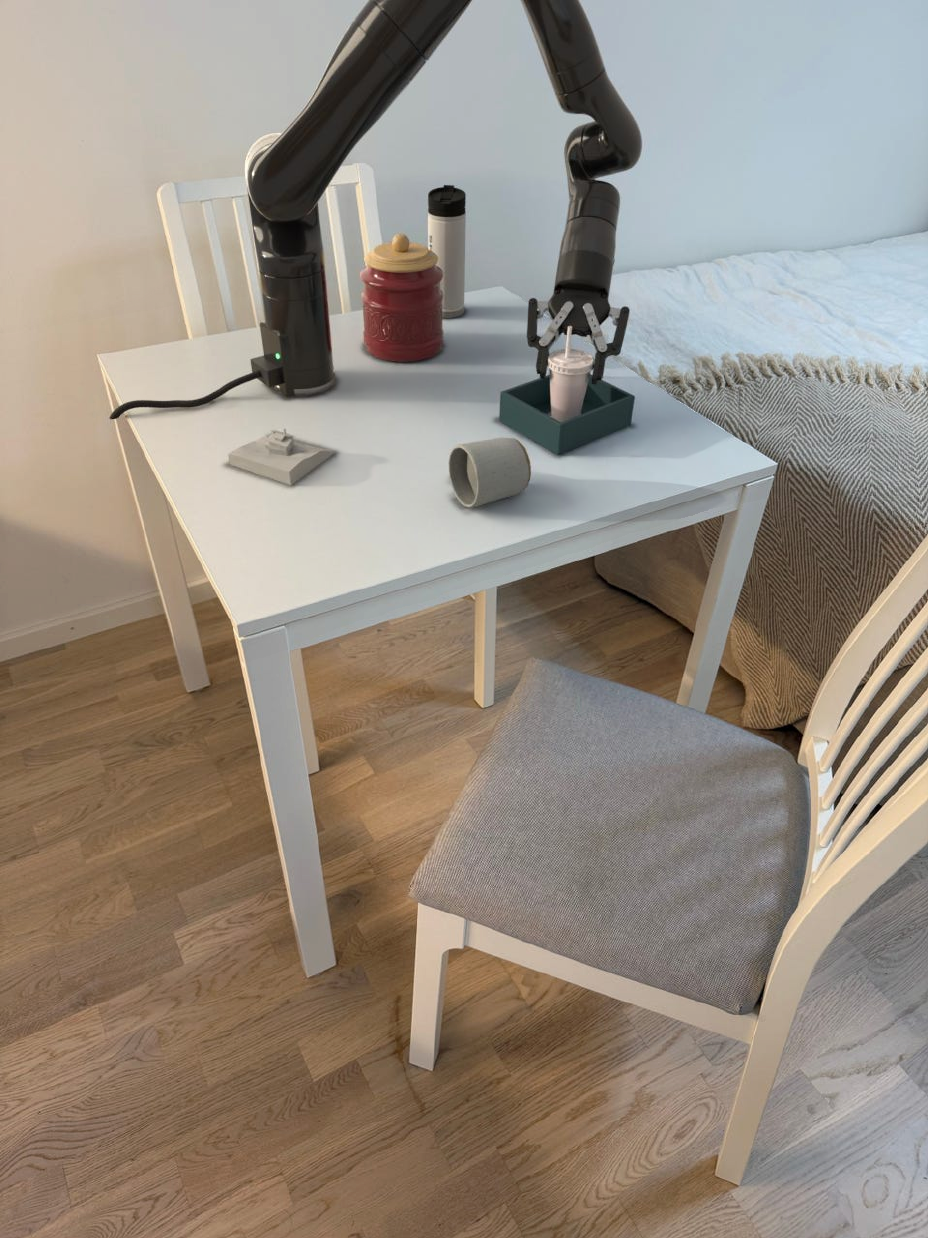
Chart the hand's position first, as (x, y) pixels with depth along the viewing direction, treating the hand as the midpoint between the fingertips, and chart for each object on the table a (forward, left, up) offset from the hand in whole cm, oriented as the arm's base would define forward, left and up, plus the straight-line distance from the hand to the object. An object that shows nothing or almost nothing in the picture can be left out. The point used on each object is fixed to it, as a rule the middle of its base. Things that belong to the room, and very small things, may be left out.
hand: (568, 379), depth 119 cm
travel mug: (+13, +44, -8) cm, 47 cm away
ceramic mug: (-20, -6, -8) cm, 22 cm away
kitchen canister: (-2, +36, -8) cm, 37 cm away
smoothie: (+1, +1, -8) cm, 8 cm away
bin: (+1, +1, -7) cm, 8 cm away
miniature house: (-36, +16, -8) cm, 40 cm away
